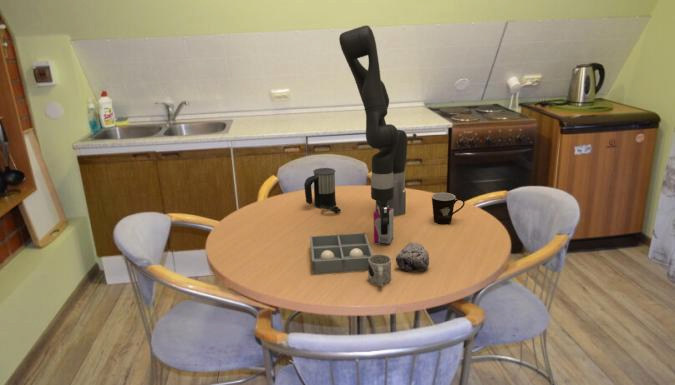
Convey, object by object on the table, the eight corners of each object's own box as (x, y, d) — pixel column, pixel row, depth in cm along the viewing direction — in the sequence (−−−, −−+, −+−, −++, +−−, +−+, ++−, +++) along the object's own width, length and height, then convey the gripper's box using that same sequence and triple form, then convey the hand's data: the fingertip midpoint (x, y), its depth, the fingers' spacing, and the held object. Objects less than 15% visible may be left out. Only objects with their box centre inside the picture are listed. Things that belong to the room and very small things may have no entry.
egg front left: (362, 258, 165) (362, 245, 164) (364, 264, 161) (364, 251, 160) (348, 258, 165) (348, 246, 164) (350, 265, 161) (349, 252, 159)
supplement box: (393, 238, 181) (394, 208, 177) (389, 245, 175) (390, 214, 171) (377, 236, 182) (377, 206, 179) (373, 243, 177) (373, 212, 173)
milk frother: (323, 199, 220) (322, 166, 215) (354, 206, 211) (353, 171, 206) (302, 209, 209) (300, 175, 205) (333, 217, 201) (332, 181, 196)
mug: (368, 274, 157) (368, 254, 155) (390, 273, 157) (390, 254, 154) (369, 291, 148) (368, 270, 145) (392, 290, 147) (392, 270, 145)
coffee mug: (428, 224, 191) (429, 199, 188) (433, 216, 199) (434, 191, 195) (460, 228, 187) (461, 202, 184) (464, 219, 195) (465, 194, 191)
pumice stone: (406, 283, 156) (436, 269, 157) (400, 262, 152) (430, 249, 154) (393, 267, 165) (421, 254, 167) (387, 247, 162) (415, 234, 163)
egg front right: (334, 259, 165) (333, 247, 163) (335, 266, 161) (334, 253, 159) (320, 260, 164) (319, 248, 163) (321, 267, 160) (320, 254, 159)
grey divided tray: (365, 244, 177) (365, 232, 175) (374, 270, 159) (373, 257, 158) (310, 247, 175) (310, 236, 174) (313, 274, 158) (312, 261, 156)
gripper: (397, 190, 166) (396, 237, 171) (389, 177, 179) (389, 221, 184) (374, 192, 165) (374, 238, 170) (368, 178, 179) (368, 222, 184)
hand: (382, 229), depth 177 cm, fingers open, 8 cm apart
